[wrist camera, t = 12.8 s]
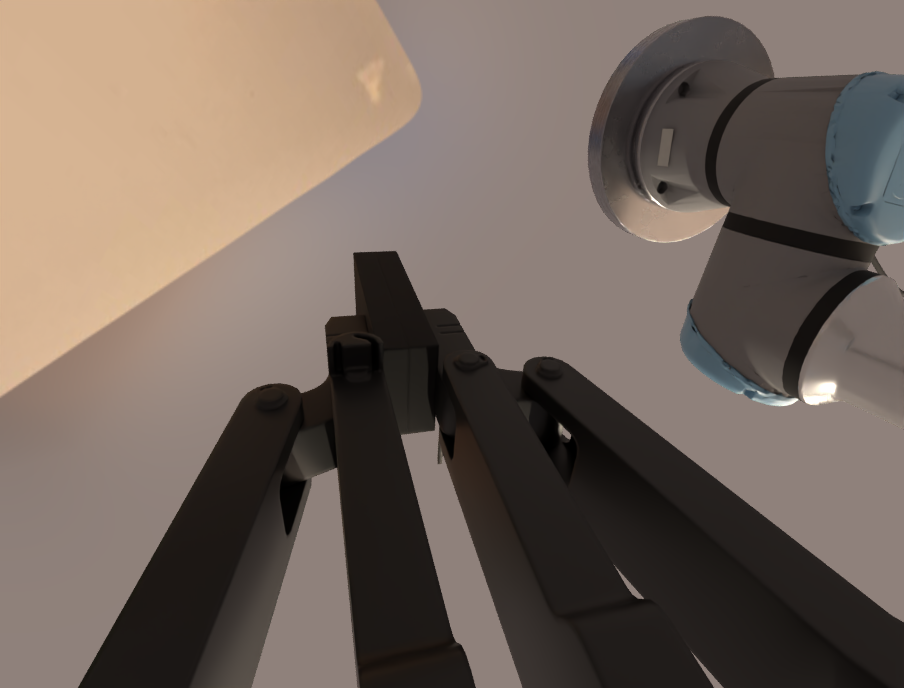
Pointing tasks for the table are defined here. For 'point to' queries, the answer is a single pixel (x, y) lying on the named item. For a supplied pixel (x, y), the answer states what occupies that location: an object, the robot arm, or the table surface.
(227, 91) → the table surface
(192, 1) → the table surface
